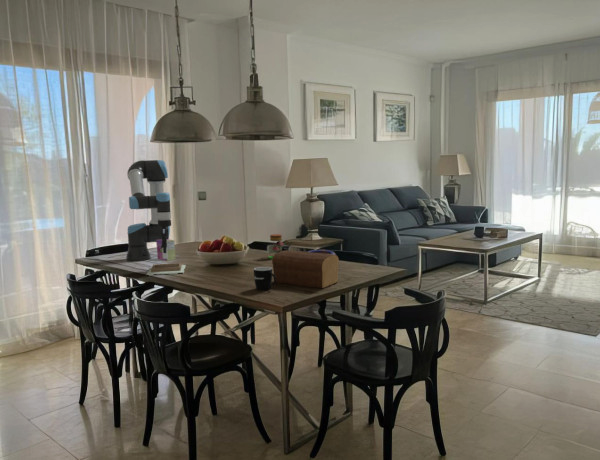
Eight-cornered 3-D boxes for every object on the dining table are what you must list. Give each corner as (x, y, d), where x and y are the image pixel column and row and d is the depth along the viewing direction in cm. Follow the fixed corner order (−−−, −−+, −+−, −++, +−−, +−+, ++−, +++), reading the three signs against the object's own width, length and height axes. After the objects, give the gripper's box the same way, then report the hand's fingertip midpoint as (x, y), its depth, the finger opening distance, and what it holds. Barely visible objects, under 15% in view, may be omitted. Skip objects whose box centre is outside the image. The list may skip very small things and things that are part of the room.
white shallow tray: (151, 268, 313) (151, 263, 312) (185, 266, 316) (185, 261, 316) (146, 275, 291) (146, 270, 291) (183, 273, 294) (183, 268, 294)
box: (157, 259, 304) (156, 239, 303) (165, 258, 308) (164, 238, 307) (167, 261, 297) (166, 241, 296) (175, 260, 301) (174, 239, 300)
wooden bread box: (291, 276, 283) (290, 247, 281) (339, 282, 267) (339, 251, 265) (271, 283, 268) (271, 252, 266) (322, 289, 252) (321, 257, 250)
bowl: (312, 273, 290) (312, 255, 288) (300, 267, 306) (299, 250, 305) (341, 270, 297) (341, 252, 295) (327, 264, 313) (327, 248, 312)
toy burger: (290, 257, 339) (289, 234, 337) (273, 260, 332) (272, 236, 330) (280, 255, 348) (279, 233, 347) (264, 257, 341) (263, 234, 340)
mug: (250, 289, 254) (249, 269, 253) (261, 286, 261) (261, 266, 260) (270, 292, 247) (269, 271, 246) (281, 288, 255) (280, 268, 253)
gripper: (159, 217, 311) (161, 253, 313) (155, 221, 288) (157, 260, 290) (172, 217, 312) (174, 253, 315) (169, 221, 289) (171, 260, 291)
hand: (166, 256), depth 302 cm, fingers closed on box, 11 cm apart
